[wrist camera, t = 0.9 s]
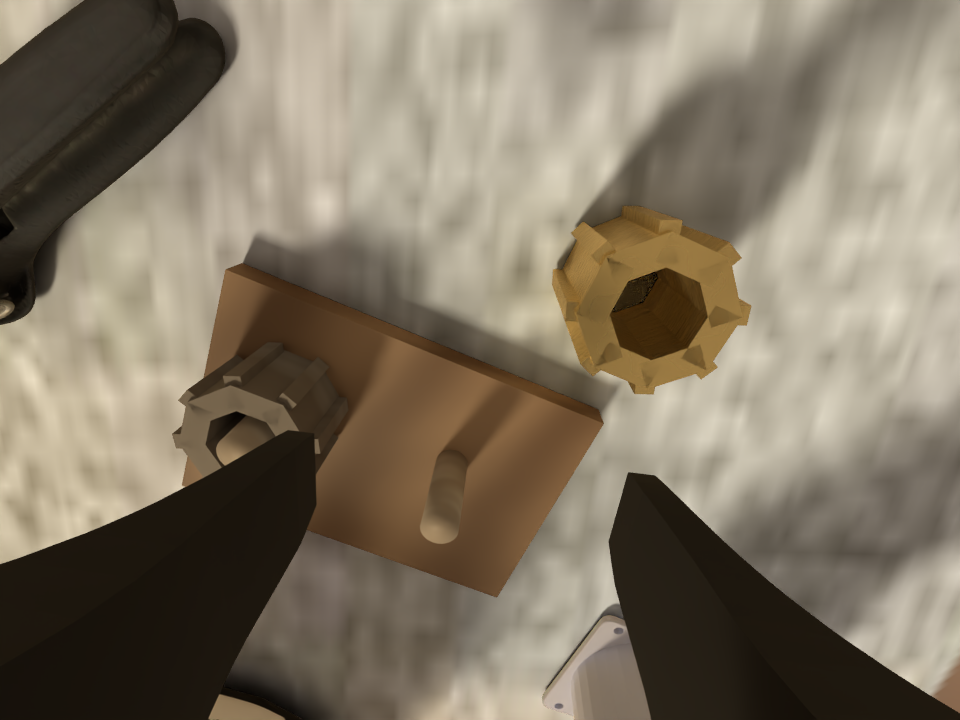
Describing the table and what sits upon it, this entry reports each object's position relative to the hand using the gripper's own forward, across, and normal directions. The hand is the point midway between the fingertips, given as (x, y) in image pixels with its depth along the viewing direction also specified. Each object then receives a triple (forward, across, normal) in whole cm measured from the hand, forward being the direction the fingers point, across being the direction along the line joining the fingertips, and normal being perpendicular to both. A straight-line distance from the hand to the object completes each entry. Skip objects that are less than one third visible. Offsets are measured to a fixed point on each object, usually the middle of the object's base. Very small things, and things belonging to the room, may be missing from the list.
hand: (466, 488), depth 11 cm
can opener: (+10, +17, -5) cm, 20 cm away
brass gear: (+10, -5, -3) cm, 11 cm away
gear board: (+10, +4, +6) cm, 12 cm away
